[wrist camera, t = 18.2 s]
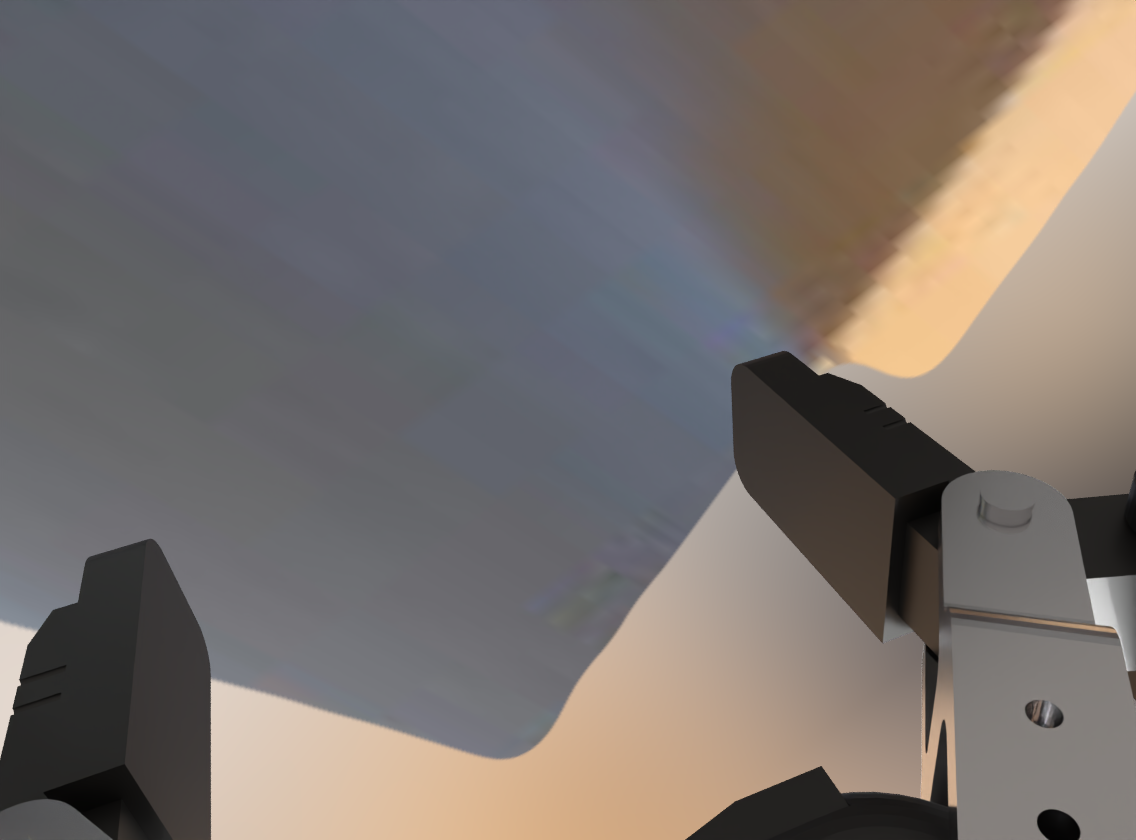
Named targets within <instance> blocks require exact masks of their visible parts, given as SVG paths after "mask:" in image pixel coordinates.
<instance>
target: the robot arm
mask: <svg viewBox="0 0 1136 840" xmlns="http://www.w3.org/2000/svg"><path fill="white" fill-rule="evenodd" d="M731 390H732V417H733V445H734V458H735V464H736V468H737V471H738V474H739V476H740V479H741V481H742V483H743V485H744V487H745V489H746V490H747V492H748V493H749V494H750V496H751V497H752V498H753V499H754V500H755V501H756V502H757V503H758V504H759V506H760V507H761V508H762V509H763V510H764V511H765V512H766V513H767V515H768V516H769V517H770V518H771V519H772V520H773V521H774V522H775V524H776V525H777V526H778V527H779V528H780V529H781V530H782V531H783V532H784V533H785V535H786V536H787V537H788V538H789V539H790V540H791V541H792V543H793V544H794V545H795V546H796V547H797V548H798V549H799V550H800V552H801V553H802V554H803V555H804V556H805V557H806V558H807V559H808V560H809V562H810V563H811V564H812V565H813V566H814V567H815V568H816V569H817V571H818V572H819V573H820V574H821V575H822V576H823V577H824V578H825V580H826V581H827V582H828V583H829V584H830V585H831V586H832V587H833V588H834V589H835V591H836V592H837V593H838V594H839V595H840V596H841V597H842V599H843V600H844V601H845V602H846V603H847V604H848V605H849V606H850V607H851V608H852V610H853V611H854V612H855V613H856V614H857V615H858V616H859V617H860V619H861V620H862V621H863V622H864V623H865V624H866V625H867V627H868V628H869V629H870V630H871V631H872V632H873V633H874V634H875V635H876V637H877V638H878V639H879V640H880V641H881V642H882V643H885V642H887V641H890V640H893V639H896V638H898V637H901V636H903V635H906V634H908V633H911V632H915V633H916V634H917V635H918V636H919V637H920V638H921V639H922V640H923V641H924V648H923V656H922V775H921V796H920V797H921V798H920V799H919V798H914V797H909V796H905V795H900V794H890V793H880V792H850V793H842V794H841V793H840V792H839V791H838V789H837V788H836V786H835V785H834V783H833V782H832V780H831V779H830V778H829V776H828V775H827V773H826V772H825V770H824V769H823V768H822V766H820V767H818V768H816V769H813V770H811V771H808V772H806V773H803V774H801V775H798V776H796V777H794V778H791V779H789V780H786V781H784V782H781V783H779V784H777V785H774V786H772V787H770V788H767V789H764V790H762V791H760V792H757V793H755V794H752V795H750V796H747V797H745V798H743V799H740V800H738V801H735V802H734V803H733V804H731V805H730V806H729V807H727V808H726V809H725V810H723V811H722V812H721V813H720V814H718V815H717V816H716V817H714V818H713V819H712V820H711V821H709V822H708V823H707V824H705V825H704V826H703V827H701V828H700V829H699V830H697V831H696V832H695V833H694V834H692V835H691V836H690V837H688V838H687V839H686V840H1136V708H1135V703H1134V699H1135V700H1136V471H1135V474H1134V478H1133V481H1132V485H1131V489H1130V492H1129V494H1122V495H1110V496H1099V497H1088V498H1077V499H1066V498H1065V497H1064V496H1063V495H1062V494H1061V493H1060V492H1059V491H1057V490H1056V489H1055V488H1053V487H1052V486H1050V485H1048V484H1046V483H1045V482H1043V481H1041V480H1038V479H1036V478H1033V477H1030V476H1027V475H1024V474H1020V473H1015V472H1009V471H995V470H989V471H978V472H975V471H974V470H972V469H971V468H970V467H969V466H967V465H966V464H965V463H963V462H962V461H960V460H959V459H958V458H957V457H955V456H954V455H953V454H952V453H950V452H949V451H948V450H946V449H945V448H944V447H942V446H941V445H939V444H938V443H937V442H936V441H934V440H933V439H932V438H930V437H929V436H928V435H926V434H925V433H924V432H922V431H921V430H920V429H918V428H917V427H916V426H914V425H913V424H912V423H911V422H910V423H906V420H905V418H904V417H903V416H901V415H900V414H899V413H897V412H896V411H895V410H893V409H892V408H891V407H890V408H887V407H886V404H885V403H884V402H883V401H882V400H880V399H879V398H878V397H876V396H875V395H873V394H872V393H871V392H870V391H868V390H867V389H866V388H865V387H863V386H862V385H860V384H857V383H854V382H851V381H848V380H846V379H843V378H840V377H837V376H835V375H832V374H829V373H826V374H823V375H820V376H819V375H817V374H816V373H815V372H814V371H812V370H811V369H810V368H809V367H807V366H806V365H805V364H804V363H802V362H801V361H800V360H799V359H797V358H796V357H795V356H794V355H792V354H791V353H789V352H787V351H781V352H778V353H775V354H771V355H768V356H765V357H761V358H758V359H755V360H751V361H748V362H745V363H741V364H738V365H736V366H735V367H734V369H733V372H732V377H731ZM19 680H20V683H21V686H18V687H17V692H16V696H15V700H14V704H13V710H14V715H11V717H10V722H9V725H8V730H7V733H6V738H5V741H4V746H3V750H2V754H1V758H0V840H211V708H210V707H211V703H210V702H211V693H210V692H211V690H210V689H211V687H210V686H211V674H210V662H209V656H208V652H207V647H206V644H205V640H204V637H203V634H202V631H201V629H200V626H199V624H198V622H197V620H196V618H195V616H194V614H193V612H192V610H191V608H190V606H189V604H188V602H187V600H186V598H185V596H184V594H183V592H182V590H181V588H180V586H179V584H178V582H177V580H176V578H175V576H174V574H173V572H172V570H171V568H170V566H169V564H168V562H167V560H166V558H165V556H164V554H163V552H162V550H161V548H160V547H159V545H158V544H157V543H156V542H155V541H154V540H153V539H148V540H144V541H141V542H138V543H134V544H131V545H128V546H124V547H121V548H117V549H114V550H111V551H107V552H104V553H101V554H97V555H94V556H91V557H89V558H88V559H87V560H86V563H85V567H84V573H83V578H82V583H81V589H80V594H79V600H78V603H75V604H71V605H68V606H65V607H62V608H58V609H55V610H53V611H52V612H51V614H50V615H49V616H48V618H47V619H46V621H45V622H44V623H43V625H42V626H41V628H40V629H39V630H38V632H37V633H36V635H35V636H34V637H33V639H32V640H31V642H30V643H29V644H28V646H27V650H26V654H25V658H24V663H23V667H22V671H21V675H20V679H19ZM1133 698H1134V699H1133Z"/></svg>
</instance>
